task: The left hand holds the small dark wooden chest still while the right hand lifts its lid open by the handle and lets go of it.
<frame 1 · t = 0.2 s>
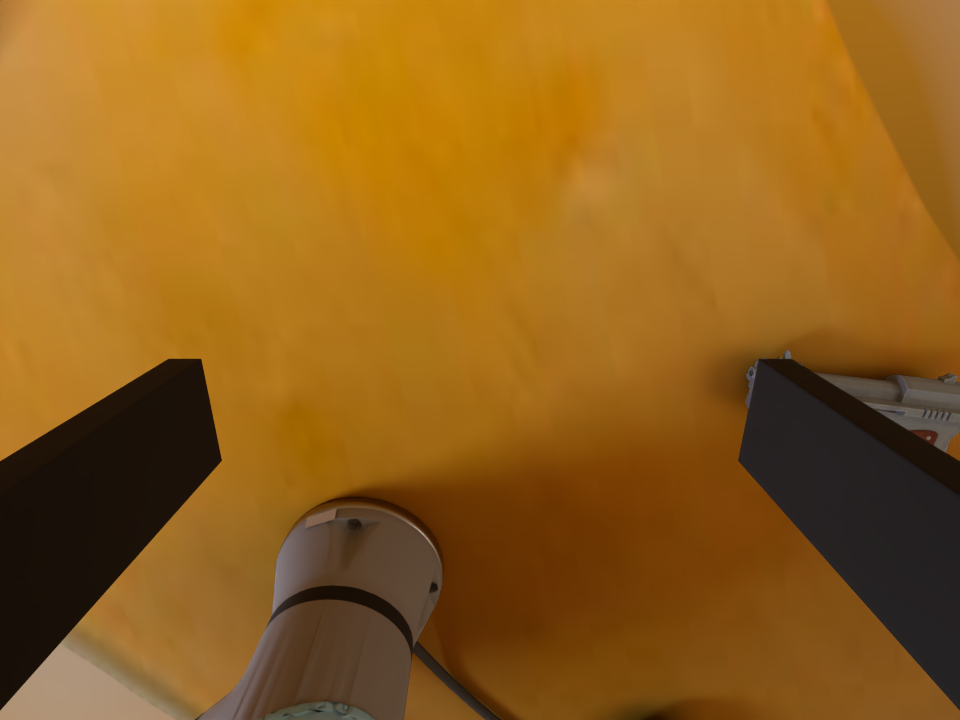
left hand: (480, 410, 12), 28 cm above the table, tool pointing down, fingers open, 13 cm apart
toy gun: (825, 433, 44), on the table
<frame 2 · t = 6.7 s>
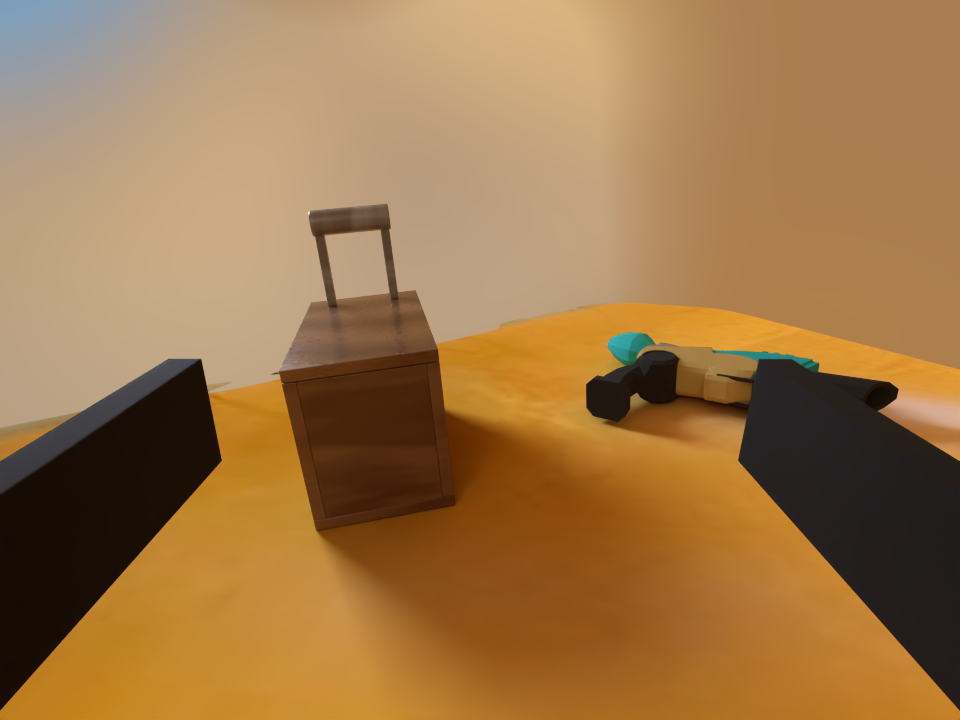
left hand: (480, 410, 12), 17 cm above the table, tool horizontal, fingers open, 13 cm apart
toy gun 2: (709, 407, 47), on the table
lid: (354, 274, 38), point 15 cm above the table, hinge at 0.0°
chest: (384, 456, 43), on the table
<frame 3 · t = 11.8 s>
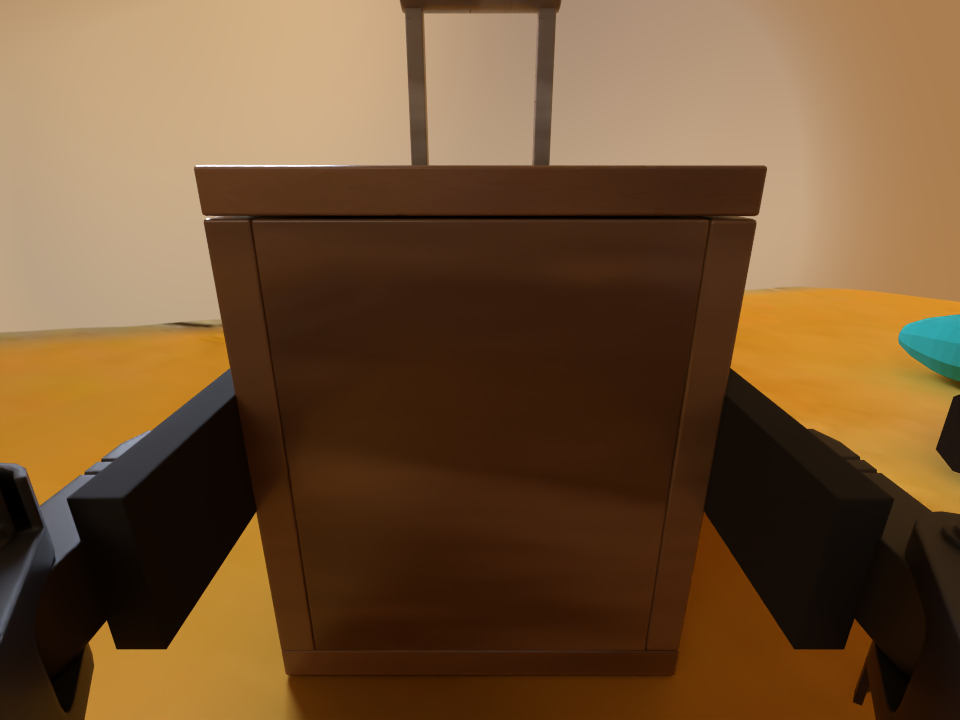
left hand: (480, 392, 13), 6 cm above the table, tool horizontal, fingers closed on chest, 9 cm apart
lid: (480, 39, 15), point 15 cm above the table, hinge at 0.0°
chest: (480, 481, 20), on the table, touching left hand
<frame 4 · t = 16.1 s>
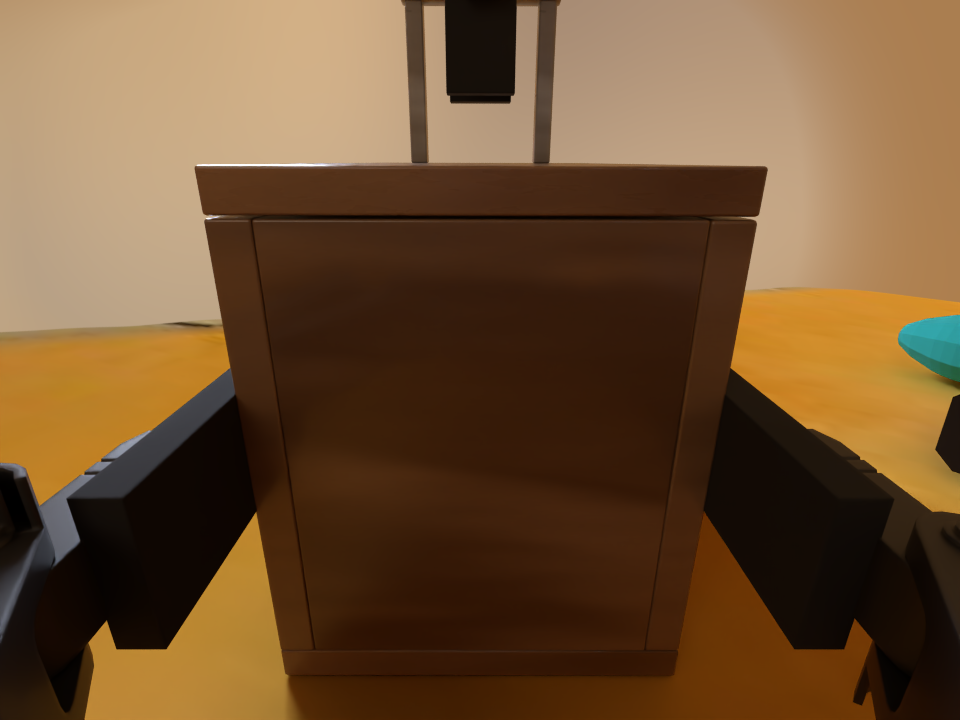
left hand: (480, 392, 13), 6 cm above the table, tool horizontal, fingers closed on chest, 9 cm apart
lid: (481, 34, 15), point 15 cm above the table, hinge at 0.8°, touching right hand
chest: (479, 481, 20), on the table, touching left hand
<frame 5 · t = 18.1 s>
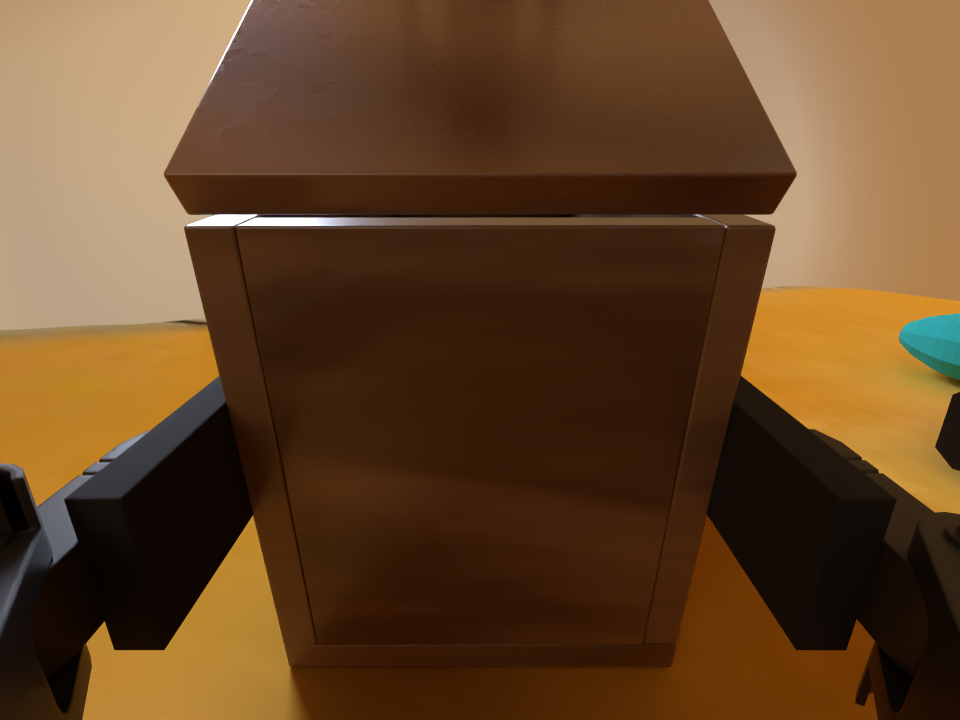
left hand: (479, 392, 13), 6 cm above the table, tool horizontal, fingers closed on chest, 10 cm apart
chest: (480, 463, 20), point 1 cm above the table, touching left hand
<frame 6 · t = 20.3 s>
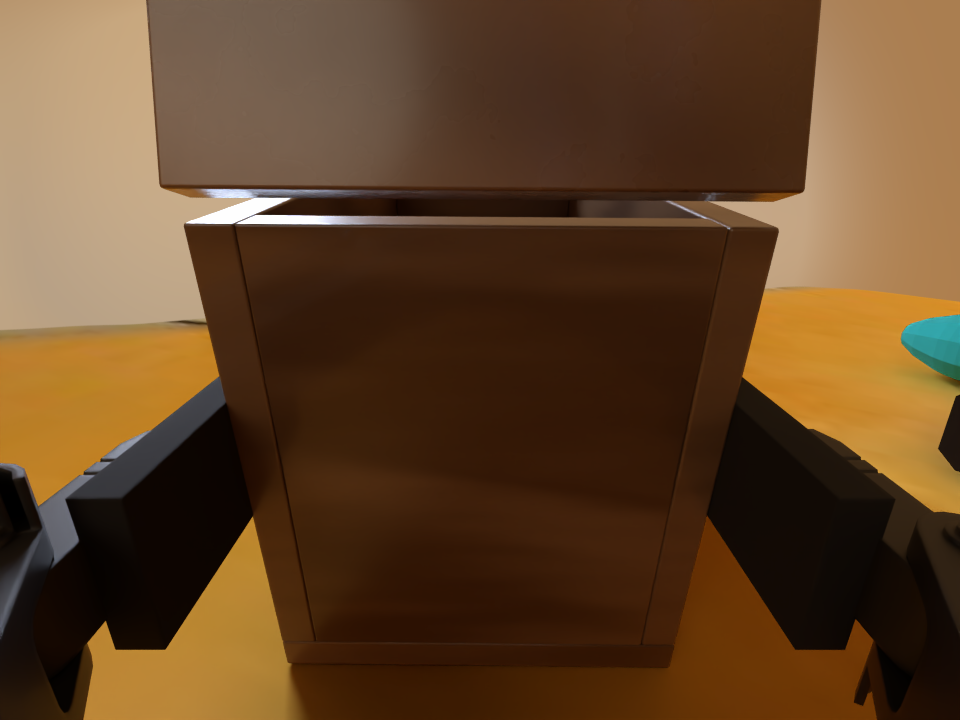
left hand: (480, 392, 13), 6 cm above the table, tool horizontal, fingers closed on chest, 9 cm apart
chest: (480, 462, 20), point 1 cm above the table, touching left hand
when the left hand's fingers open (6 cm above the table, at t = 24.6 s): chest stays where it is, on the table.
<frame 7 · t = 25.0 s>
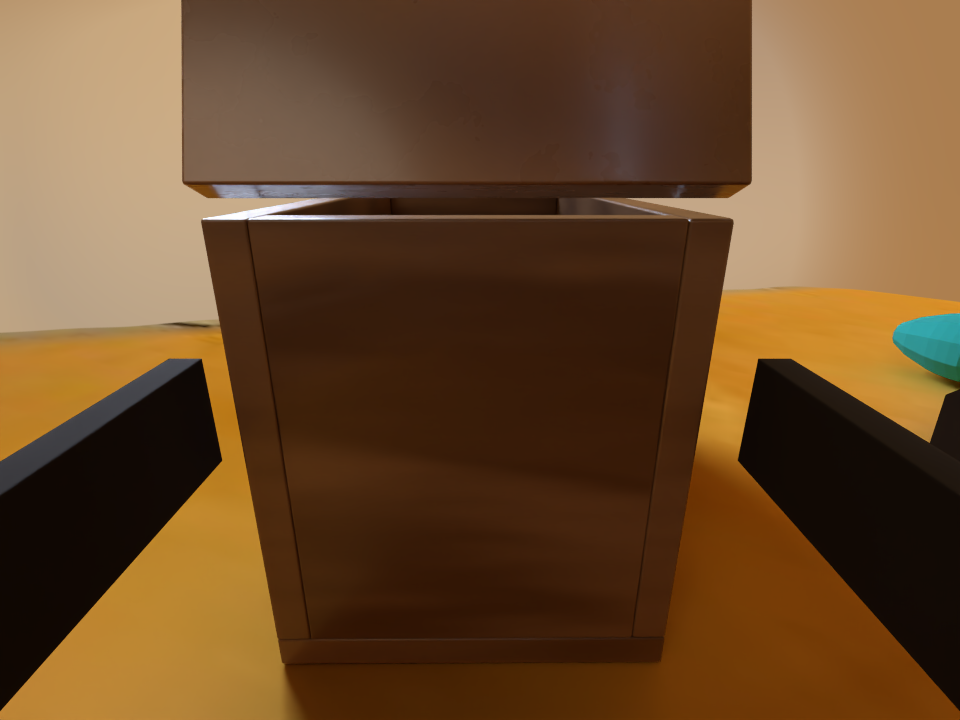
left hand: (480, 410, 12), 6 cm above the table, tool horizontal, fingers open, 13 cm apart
chest: (473, 476, 21), on the table
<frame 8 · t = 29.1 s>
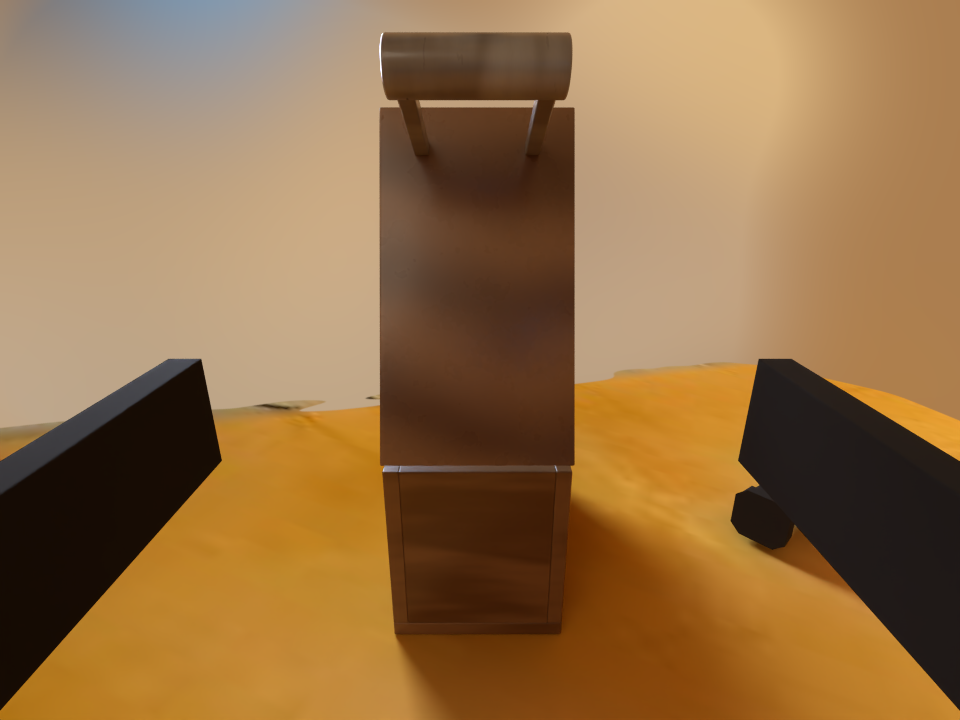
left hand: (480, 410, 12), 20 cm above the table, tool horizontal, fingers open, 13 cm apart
toy gun 2: (897, 549, 36), on the table
lid: (476, 274, 21), point 21 cm above the table, hinge at 69.9°
chest: (477, 536, 37), on the table
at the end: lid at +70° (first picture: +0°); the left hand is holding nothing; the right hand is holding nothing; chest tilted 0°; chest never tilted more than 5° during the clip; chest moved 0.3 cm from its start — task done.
